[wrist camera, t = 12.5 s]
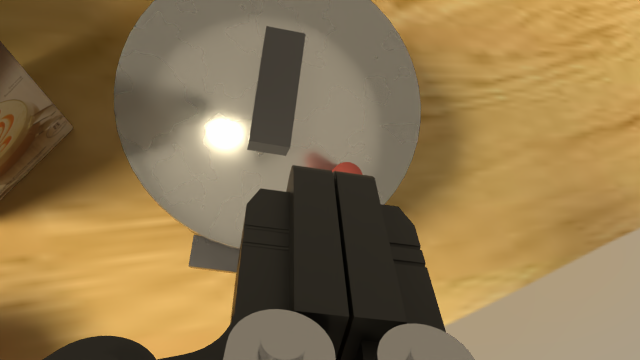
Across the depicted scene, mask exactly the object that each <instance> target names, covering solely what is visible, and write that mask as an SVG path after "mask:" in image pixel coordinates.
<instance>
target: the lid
mask: <svg viewBox="0 0 640 360" xmlns="http://www.w3.org/2000/svg"><path fill="white" fill-rule="evenodd" d="M114 112H115V118H116V125H117V131H118V134H119V137H120V141H121V144H122V147H123V150H124V153H125V155H126V157H127V159H128V161H129V163H130V165H131V168H132V170H133V171H134V173H135V174H136V176H137V177H138V179H139V180H140V182H141V183H142V185H143V187H144V188H145V189H146V191H147V192H148V193H149V194H150V195H151V196H152V198H153V199H154V200H155V201H156V202H157V203H158V205H159V206H160V207H161V208H162V209H164V210H165V211H166V212H167V213H168V214H169V215H170V216H171V217H173V218H174V219H175V220H176V221H178V222H179V223H181V224H182V225H184V226H185V227H187V228H188V229H190V230H191V231H193V232H194V233H197V234H199V235H201V236H203V237H205V238H207V239H209V240H211V241H213V242H216V243H219V244H222V245H225V246H228V247H231V248H235V249H240V245H241V238H242V231H243V225H244V218H245V212H246V205H247V203H248V202H249V201H250V200H251V198H252V197H253V196H254V195H255V194H256V193H257V192H258V190H259V189H260V188H262V189H269V190H277V191H284V192H286V190H287V185H288V180H289V175H290V170H291V167H292V165H296V166H303V167H310V168H318V169H325V170H331V171H332V172H334V171H340V172H347V173H354V174H361V175H368V176H373V177H374V178H375V181H376V185H377V190H378V194H379V199H380V203H381V204H382V205H384V204H385V203H386V202H387V201H388V199H389V198H390V197H391V196H392V195H393V193H394V192H395V191H396V189H397V188H398V186H399V184H400V183H401V181H402V180H403V178H404V176H405V174H406V172H407V170H408V168H409V165H410V163H411V161H412V158H413V155H414V152H415V148H416V145H417V142H418V135H419V129H420V117H421V102H420V93H419V85H418V81H417V77H416V73H415V69H414V66H413V63H412V61H411V58H410V55H409V53H408V51H407V49H406V47H405V45H404V43H403V41H402V39H401V37H400V35H399V34H398V32H397V31H396V29H395V28H394V27H393V25H392V24H391V22H390V21H389V19H388V18H387V17H386V16H385V15H384V14H383V13H382V11H381V10H380V9H379V8H378V7H377V6H376V5H375V4H374V3H373V2H372V1H371V0H154V1H153V2H152V4H151V5H150V6H149V7H148V8H147V9H146V11H145V12H144V13H143V14H142V15H141V17H140V18H139V20H138V21H137V23H136V24H135V26H134V28H133V29H132V31H131V32H130V34H129V37H128V39H127V41H126V43H125V45H124V48H123V50H122V53H121V56H120V60H119V63H118V67H117V71H116V78H115V86H114Z"/></svg>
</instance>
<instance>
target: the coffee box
mask: <svg viewBox="0 0 640 360" xmlns="http://www.w3.org/2000/svg"><path fill="white" fill-rule="evenodd" d="M72 129H73V126H72V125H71V124H70V123H69V121H68V120H67V119H66V118H65V117H64V116H63V115H62V113H61V112H60V111H59V110H58V109H57V107H56V106H55V105H54V104H53V103H52V101H51V100H50V99H49V98H48V97H47V96H46V94H45V93H44V92H43V91H42V90H41V89H40V88H39V86H38V85H37V84H36V83H35V82H34V80H33V79H32V78H31V77H30V76H29V75H28V74H27V72H26V71H25V70H24V69H23V67H22V66H21V65H20V64H19V63H18V62H17V60H16V59H15V58H14V57H13V56H12V54H11V53H10V52H9V51H8V50H7V49H6V47H5V46H4V45H3V44H2V43H1V41H0V200H1V199H2V198H3V197H4V196H5V195H6V194H7V193H8V192H9V191H10V190H11V189H12V188H13V187H14V186H15V185H16V184H17V183H18V182H19V181H20V180H21V179H22V178H23V177H24V176H25V175H26V174H27V173H29V171H30V170H31V169H32V168H33V167H35V166H36V165H37V164H38V163H39V162H40V161H41V160H42V159H43V158H44V157H45V156H46V155H47V154H48V153H49V152H50V151H51V150H52V149H53V148H54V147H55V146H56V145H57V144H58V143H59V142H60V141H61V140H62V139H63V138H64V137H65V136H66V135H67V134H68V133H69V132H70V131H71V130H72Z"/></svg>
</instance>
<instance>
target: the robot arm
mask: <svg viewBox="0 0 640 360" xmlns="http://www.w3.org/2000/svg"><path fill="white" fill-rule="evenodd" d="M43 360H156V359H155V357H154V356H153V354H152V353H151V352H150V351H149V350H148V349H146V348H145V347H143V346H142V345H141V344H139V343H137V342H134V341H132V340H129V339H126V338H122V337H116V336H96V337H89V338H85V339H81V340H78V341H75V342H73V343H70V344H68V345H66V346H64V347H62V348H61V349H59V350H57V351H55V352H54V353H52V354H51V355H49V356H47V357H46V358H44V359H43ZM158 360H475V359H474V358H473V356H472V355H471V354H470V352H469V351H468V350H467V349H466V348H465V346H464V345H463V344H461V343H460V342H459V341H458V340H457V339H455V338H454V337H452V336H451V335H449V334H448V333H446V331H445V328H444V324H443V321H442V317H441V314H440V311H439V307H438V304H437V300H436V297H435V294H434V290H433V287H432V284H431V280H430V277H429V273H428V270H427V268H426V267H425V260H424V256H423V253H422V250H420V243H419V240H418V236H417V233H416V229H415V226H414V225H413V223H412V222H411V221H410V220H409V219H408V218H407V216H406V215H405V214H404V213H403V212H402V210H401V209H400V208H399V207H397V206H389V205H382V204H381V203H380V199H379V194H378V190H377V185H376V181H375V178H374V177H373V176H368V175H361V174H354V173H347V172H340V171H334V172H332V171H331V170H325V169H318V168H310V167H303V166H296V165H292V167H291V170H290V175H289V180H288V185H287V190H286V192H284V191H277V190H269V189H262V188H260V189H259V190H258V192H257V193H256V194H255V195H254V196H253V197H252V198H251V200H250V201H249V202H248V203H247V205H246V212H245V218H244V225H243V231H242V238H241V245H240V251H239V258H238V265H237V272H236V281H235V289H234V298H233V306H232V314H231V323H230V326H229V327H228V328H227V330H226V331H225V333H224V334H223V335H222V336H221V337H220V338H219V339H217V340H216V341H215V342H213V343H212V344H210V345H208V346H207V347H205V348H203V349H200V350H198V351H195V352H192V353H188V354H184V355H179V356H174V357H168V358H163V359H158Z"/></svg>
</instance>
